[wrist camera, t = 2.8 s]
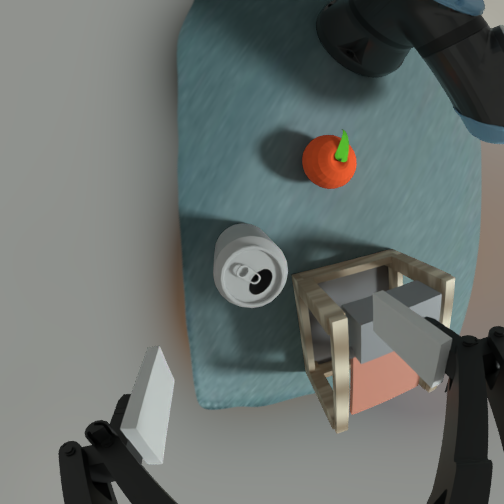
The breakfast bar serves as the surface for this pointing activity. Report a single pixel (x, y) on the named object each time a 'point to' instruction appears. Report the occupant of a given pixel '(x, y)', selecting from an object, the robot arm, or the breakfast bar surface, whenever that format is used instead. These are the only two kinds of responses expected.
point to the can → (248, 266)
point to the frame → (336, 323)
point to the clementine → (329, 161)
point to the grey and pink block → (383, 347)
